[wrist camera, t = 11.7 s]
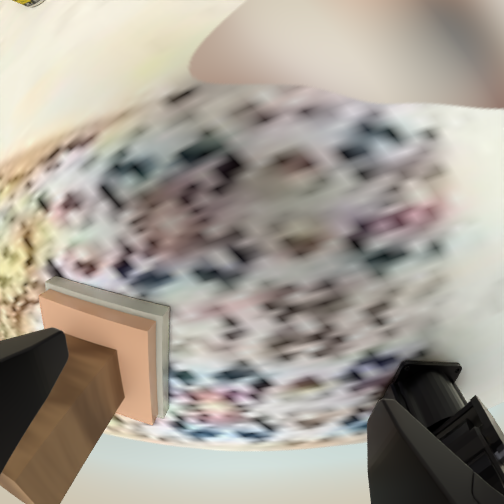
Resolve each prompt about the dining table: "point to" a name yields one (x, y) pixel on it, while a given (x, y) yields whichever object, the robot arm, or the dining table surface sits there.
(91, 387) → the walnut block
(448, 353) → the dining table surface
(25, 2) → the supplement bottle
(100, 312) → the tile pedestal
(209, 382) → the dining table surface
